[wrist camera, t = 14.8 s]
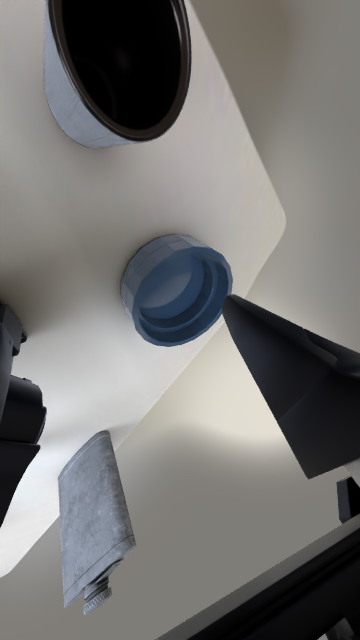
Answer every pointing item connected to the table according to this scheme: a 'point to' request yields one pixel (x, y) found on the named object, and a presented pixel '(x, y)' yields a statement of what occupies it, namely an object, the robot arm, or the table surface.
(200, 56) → the table surface
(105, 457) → the flask
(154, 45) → the grey hollow cylinder
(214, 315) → the basin
